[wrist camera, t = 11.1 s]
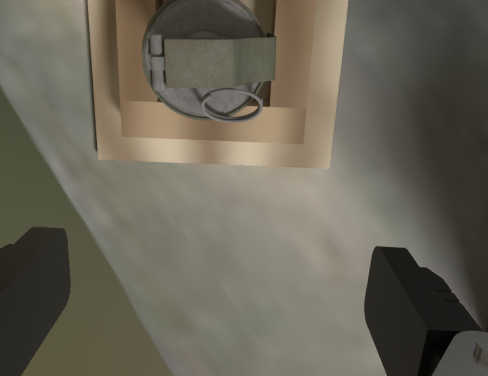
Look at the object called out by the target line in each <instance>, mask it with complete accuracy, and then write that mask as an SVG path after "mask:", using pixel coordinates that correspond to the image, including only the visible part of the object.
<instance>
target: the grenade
mask: <svg viewBox="0 0 488 376" xmlns="http://www.w3.org/2000/svg"><path fill="white" fill-rule="evenodd" d="M275 64H276V36H275V35H273V34H271V33H267V37H266V36H265V33H264V31H263V28H262V26H261V24H260V22H259V20H258V19H257V18H256V16H255V15H254V14H253V12H252V11H251V10H250V9H249V8H248V7H247V6H246V5H245V4H243V3H242V2H241V1H239V0H168V1H166V2H165V3H164V4H163V5H162V6H161V7H160V8H159V9H158V10H157V11H156V12H155V14H154V15H153V17H152V18H151V20H150V21H149V23H148V25H147V28H146V30H145V33H144V37H143V42H142V65H143V70H144V73H145V76H146V79H147V81H148V83H149V85H150V87H151V89H152V90H153V92H154V93H155V95H156V96H157V97H158V98H159V99H160V100H161V101H162V102H163V103H164V104H165V105H166V106H167V107H168V108H170V109H171V110H172V111H174V112H176V113H178V114H180V115H182V116H185V117H187V118H191V119H195V120H203V121H212V120H216V121H219V122H225V123H241V122H246V121H249V120H252V119H254V118H255V117H257V116H258V115H259V114H260V113H261V111H262V109H263V98H259V97H258V96H257V94H258V92H259V90H260V89H261V87H262V85H263V83H264V81H273V80H275ZM254 98H255V99H256V100H257V101H258V103H259V106H258V108H257V109H256V110H255V111H254V112H252V113H250V114H247V115H243V116H238V117H229V116H231V115H234V114H236V113H237V112H239V111H241V110H242V109H243V108H245V107H246V106H247V105H248V104H249V103H250V102H251V101H252V100H253V99H254Z"/></svg>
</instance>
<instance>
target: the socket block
mask: <svg viewBox="0 0 488 376" xmlns="http://www.w3.org/2000/svg"><path fill="white" fill-rule="evenodd" d="M166 1H168V0H88V14H89V29H90V44H91V59H92V74H93V89H94V104H95V119H96V134H97V149H98V159H100V160H125V161H151V162H176V163H201V164H226V165H251V166H276V167H301V168H327V169H329V168H330V159H331V150H332V141H333V133H334V124H335V115H336V106H337V97H338V88H339V79H340V71H341V62H342V53H343V44H344V35H345V26H346V17H347V8H348V0H239V1H241V2H242V3H243V4H245V5H246V6H247V7H248V8H249V9H250V10H251V11H252V12H253V14H254V15H255V16H256V18H257V19H258V20H259V22H260V24H261V26H262V28H263V31H264V33H265V36H266V37H267V33H271V34H273V35H275V36H276V64H275V80H273V81H264V83H263V85H262V87H261V89H260V90H259V92H258V94H257V96H258V97H259V98H263V109H262V111H261V113H260V114H259V115H258V116H257V117H255V118H254V119H252V120H249V121H246V122H241V123H225V122H219V121H216V120H212V121H203V120H195V119H191V118H187V117H185V116H182V115H180V114H178V113H176V112H174V111H172V110H171V109H170V108H168V107H167V106H166V105H165V104H164V103H163V102H162V101H161V100H160V99H159V98H158V97H157V96H156V95H155V93H154V92H153V90H152V89H151V87H150V85H149V83H148V81H147V79H146V76H145V73H144V70H143V65H142V42H143V37H144V33H145V30H146V28H147V25H148V23H149V21H150V20H151V18H152V17H153V15H154V14H155V12H156V11H157V10H158V9H159V8H160V7H161V6H162V5H163V4H164V3H165V2H166ZM258 106H259V103H258V101H257V100H256V99H255V98H254V99H253V100H252V101H251V102H250V103H249V104H248V105H247V106H246V107H245V108H243V109H242V110H241V111H239V112H237V113H236V114H234V115H231V116H229V117H238V116H243V115H247V114H250V113H252V112H254V111H255V110H256V109H257V108H258Z"/></svg>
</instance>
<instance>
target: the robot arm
mask: <svg viewBox="0 0 488 376" xmlns="http://www.w3.org/2000/svg"><path fill="white" fill-rule="evenodd" d="M69 268H70V267H69V255H68V241H67V234H66V232H65V230H64V229H63V228H48V227H32V228H30V229H29V230H28V231H27V232H26V233H25V234H24V235H23V236H22V237H21V238H20V239H19V240H18V241H17V242H15V243H14V244H9V245H6V246H4V247H2V248H0V376H21V375H22V373H23V372H24V370H25V369H26V367H27V365H28V364H29V362H30V361H31V359H32V358H33V356H34V355H35V353H36V351H37V350H38V348H39V347H40V345H41V344H42V342H43V341H44V339H45V337H46V336H47V334H48V333H49V331H50V329H51V328H52V327H53V325H54V323H55V322H56V320H57V319H58V317H59V316H60V314H61V313H62V311H63V310H64V308H65V306H66V304H67V302H68V298H69V294H70V286H71V285H70V284H71V282H70V269H69ZM364 312H365V320H366V323H367V326H368V329H369V331H370V334H371V336H372V339H373V341H374V344H375V346H376V349H377V351H378V354H379V356H380V359H381V361H382V364H383V366H384V369H385V371H386V374H387V376H488V333H486V332H483V331H482V330H481V328H480V327H479V326H478V324H477V323H476V322H475V321H474V319H473V318H472V317H471V315H470V314H469V313H468V311H467V310H466V309H465V307H464V306H463V305H462V304H460V303H459V300H458V298H457V297H456V296H455V294H454V293H452V290H451V289H450V288H449V287H448V285H447V284H446V283H445V281H444V280H443V279H442V278H441V277H439V276H438V275H436V274H435V273H434V272H432V271H431V270H429V269H428V268H425V267H419V265H418V264H417V263H416V261H415V260H414V258H413V257H412V256H411V254H410V253H409V251H408V250H407V249H406V248H398V247H380V246H376V247H375V248H374V250H373V254H372V259H371V265H370V271H369V277H368V283H367V289H366V295H365V302H364Z"/></svg>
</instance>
